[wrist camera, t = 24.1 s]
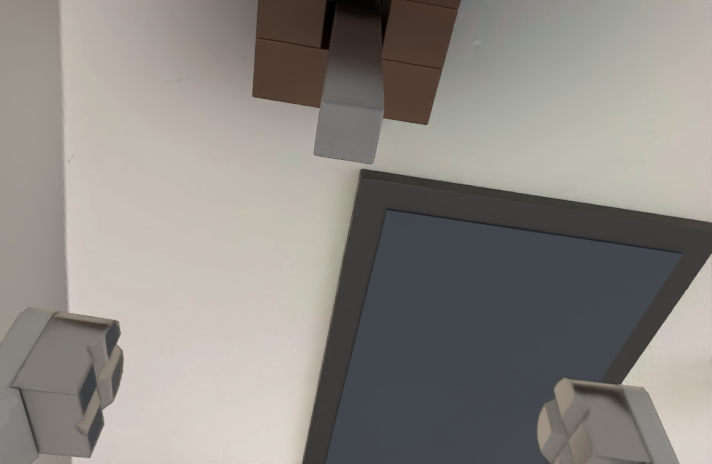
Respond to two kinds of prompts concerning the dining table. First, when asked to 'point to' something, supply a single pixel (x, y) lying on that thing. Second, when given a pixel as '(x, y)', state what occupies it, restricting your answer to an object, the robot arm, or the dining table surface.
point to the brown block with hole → (312, 41)
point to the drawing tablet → (484, 317)
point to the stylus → (352, 85)
